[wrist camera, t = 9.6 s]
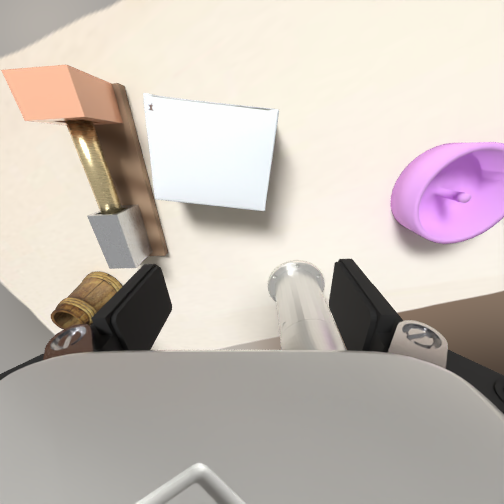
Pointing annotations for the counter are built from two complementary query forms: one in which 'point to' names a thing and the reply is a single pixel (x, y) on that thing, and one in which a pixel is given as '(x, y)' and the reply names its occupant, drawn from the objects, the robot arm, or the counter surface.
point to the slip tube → (94, 165)
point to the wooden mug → (85, 300)
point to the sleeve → (122, 237)
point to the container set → (451, 191)
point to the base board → (130, 169)
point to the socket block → (62, 95)
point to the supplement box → (210, 151)
